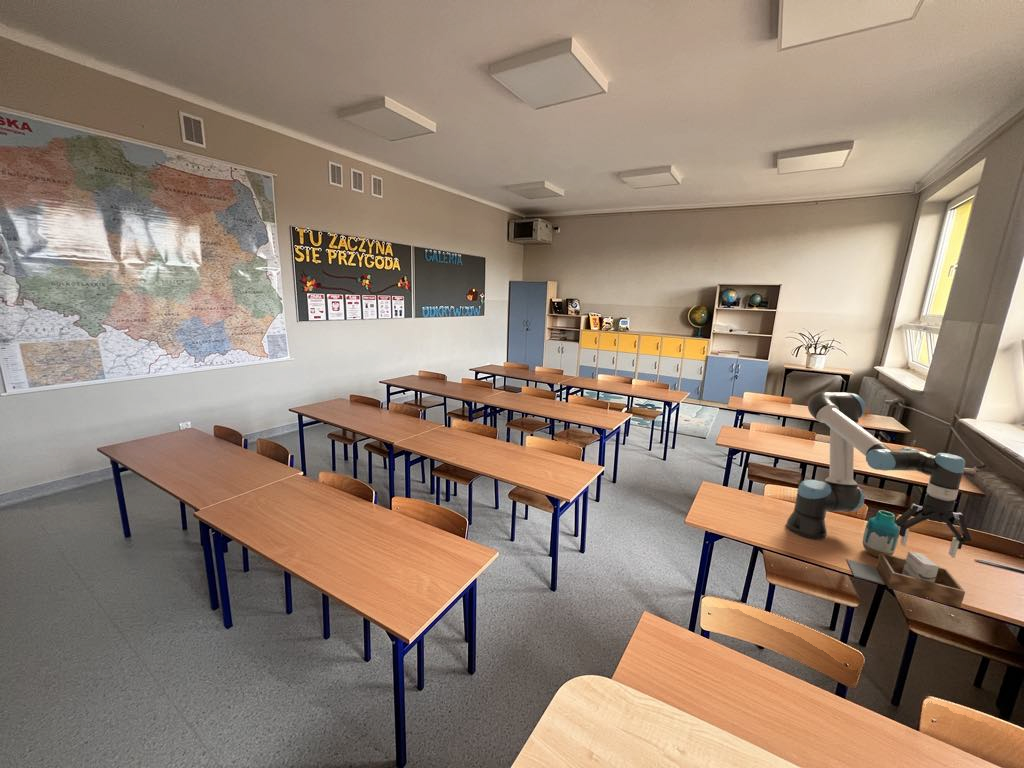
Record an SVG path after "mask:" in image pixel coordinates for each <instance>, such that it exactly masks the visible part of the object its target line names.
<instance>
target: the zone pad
mask: <svg viewBox="0 0 1024 768" xmlns="http://www.w3.org/2000/svg"><path fill="white" fill-rule="evenodd" d="M846 562H847V565H848V567H849V569H850V570H851V573H852V575H853V577H854V578H857V579H862V580H864V581H867V582H872V583H876V584H880V585H885V581H884V579H883V578H882V576H881V574H880V572H879V571H878V569H877V567H876V566H875V565H871V564H868V563H865V562H862V561H855V560H852V559H848V558H846Z"/></svg>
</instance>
